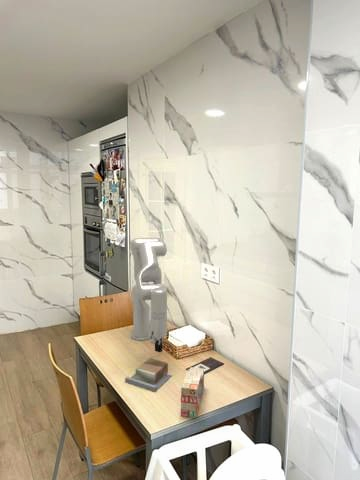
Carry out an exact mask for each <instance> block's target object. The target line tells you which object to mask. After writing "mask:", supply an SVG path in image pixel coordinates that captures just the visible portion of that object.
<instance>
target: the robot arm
mask: <svg viewBox="0 0 360 480" xmlns="http://www.w3.org/2000/svg"><path fill="white" fill-rule="evenodd" d="M129 247H130V251H131V254H132V257H133V277H134V280H135V285H133V287H132V288H131V297H132V303H133V305H132V306H133V307H132V308H133V314H132V317H133V319H132V320H133V321H132V322H133V323H132V324H133V327H132V328H133V331H132V332H131V333H130V338H131V339H133V340H136V341H145V340H149V339H150V340H151V343H152V344H154V351H155V353H156V352H157V353H161V352H163V343H164V338H165V336H166V335H167V333H168V317H167V316H168V314H167V312H168V292H167V291H168V289H167V286H166V285H165V284H163V283H162V269H161V267H160V266H159V260H158V257H166V255H167V244H166V243H165V241H164V240H163V239H161V238H159V237H138V238H133V239H131V241H130V244H129ZM147 301H150V305H149V304H148V303H147Z"/></svg>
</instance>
